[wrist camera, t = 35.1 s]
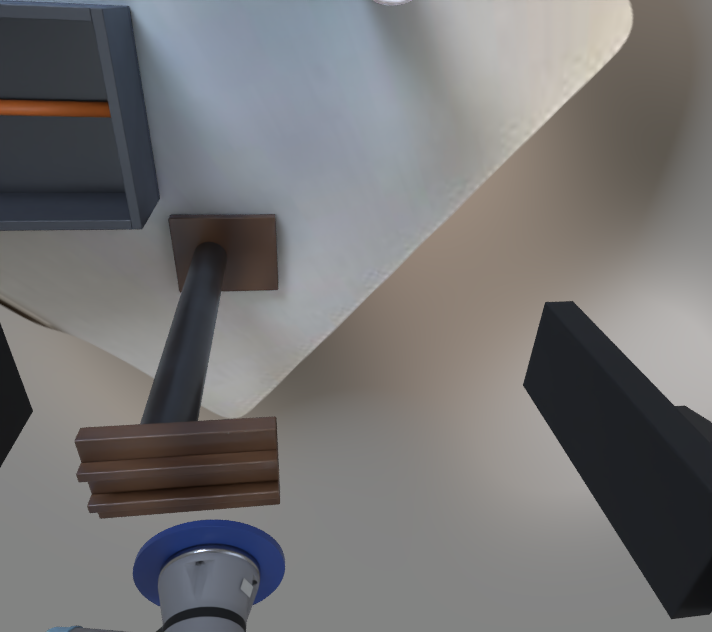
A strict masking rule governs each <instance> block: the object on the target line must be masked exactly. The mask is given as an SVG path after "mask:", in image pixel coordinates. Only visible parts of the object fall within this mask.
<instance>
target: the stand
mask: <svg viewBox="0 0 712 632" xmlns="http://www.w3.org/2000/svg"><path fill="white" fill-rule="evenodd" d="M169 226H170V232H171V239H172V245H173V252H174V258H175V265H176V271H177V278H178V284H179V291H180V292H182V293H181V296H180V299H179V302H178V305H177V309H176V312H175V315H174V318H173V321H172V325H171V328H170V331H169V334H168V337H167V340H166V344H165V347H164V350H163V353H162V356H161V359H160V363H159V366H158V369H157V372H156V375H155V379H154V382H153V385H152V388H151V391H150V395H149V398H148V401H147V404H146V407H145V410H144V414H143V417H142V420H141V423H140V424H138V425H121V426H104V427H86V428H80V430H79V432H78V434H77V437H76V439H75V444H76V447H77V450H78V453H79V456H80V460H81V464H80V466H79V469H78V471H77V474H76V475H77V478H78V481H79V482H88V484H89V487H90V490H91V493H92V495H91V497H90V500H89V503H88V506H87V507H88V510H89V512H90V513H96V512H97V513H98V514H99V517H100V518H101V519H102V518H113V517H126V516H139V515H152V514H163V513H175V512H176V513H177V512H189V511H201V510H214V509H226V508H239V507H251V506H263V505H276V504H280V484H279V463H278V442H277V423H276V417H259V418H242V419H224V420H207V421H198V417H199V410H200V406H201V400H202V395H203V389H204V384H205V378H206V373H207V367H208V362H209V356H210V351H211V345H212V340H213V334H214V329H215V323H216V318H217V312H218V307H219V301H220V296H221V291H255V290H278V268H277V243H276V218H275V214H260V215H170V217H169Z"/></svg>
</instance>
